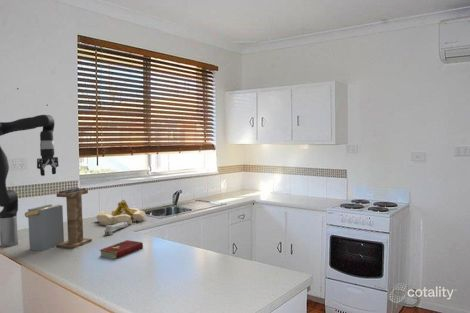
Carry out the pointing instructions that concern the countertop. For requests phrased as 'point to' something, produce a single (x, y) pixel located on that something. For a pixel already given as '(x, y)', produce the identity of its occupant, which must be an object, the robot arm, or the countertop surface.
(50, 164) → the robot arm
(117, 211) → the campfire
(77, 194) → the walnut stand
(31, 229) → the grey cradle
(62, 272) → the countertop surface
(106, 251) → the hardcover book
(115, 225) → the toothbrush head
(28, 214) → the brass rod
